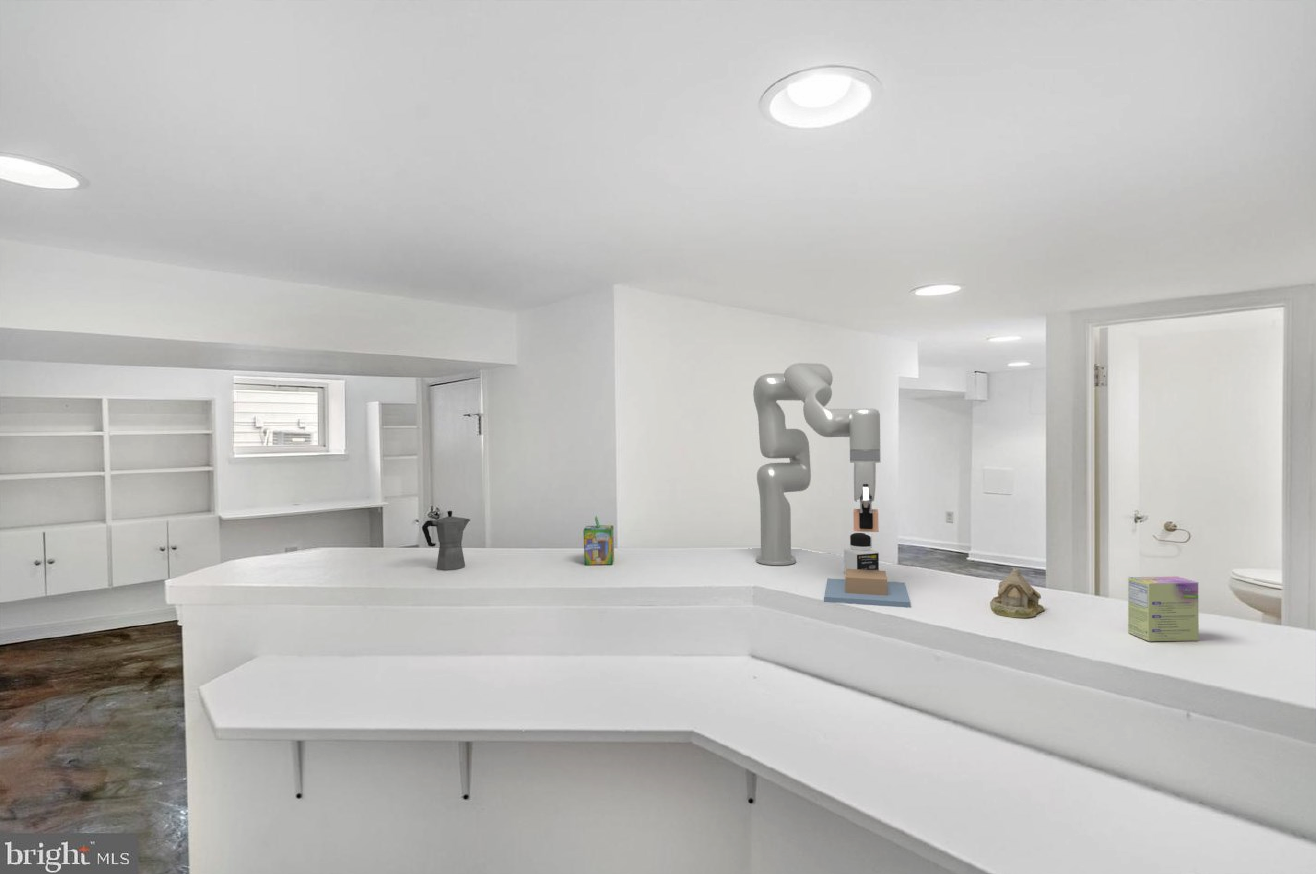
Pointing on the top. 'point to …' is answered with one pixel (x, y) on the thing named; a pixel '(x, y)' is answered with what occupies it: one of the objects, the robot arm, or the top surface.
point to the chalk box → (598, 544)
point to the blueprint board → (888, 600)
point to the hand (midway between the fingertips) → (865, 526)
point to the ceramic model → (1016, 597)
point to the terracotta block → (856, 521)
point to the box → (1163, 608)
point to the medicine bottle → (861, 553)
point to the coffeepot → (448, 541)
